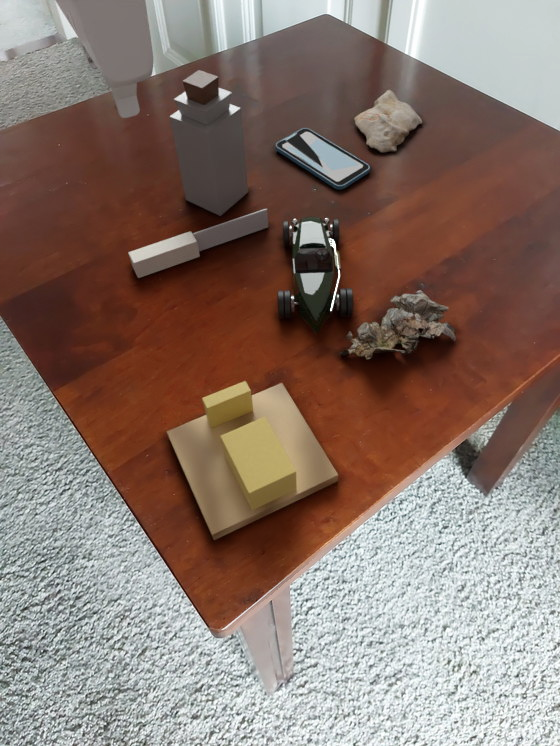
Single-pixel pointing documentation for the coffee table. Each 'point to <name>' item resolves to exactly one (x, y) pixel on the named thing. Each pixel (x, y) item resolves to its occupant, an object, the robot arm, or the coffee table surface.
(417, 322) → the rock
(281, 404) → the butter board
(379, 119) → the stone
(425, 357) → the coffee table surface
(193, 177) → the perfume bottle
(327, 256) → the toy car
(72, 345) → the coffee table surface
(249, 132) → the coffee table surface
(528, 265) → the coffee table surface
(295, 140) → the smartphone
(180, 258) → the knife
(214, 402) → the butter slice
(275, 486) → the butter
